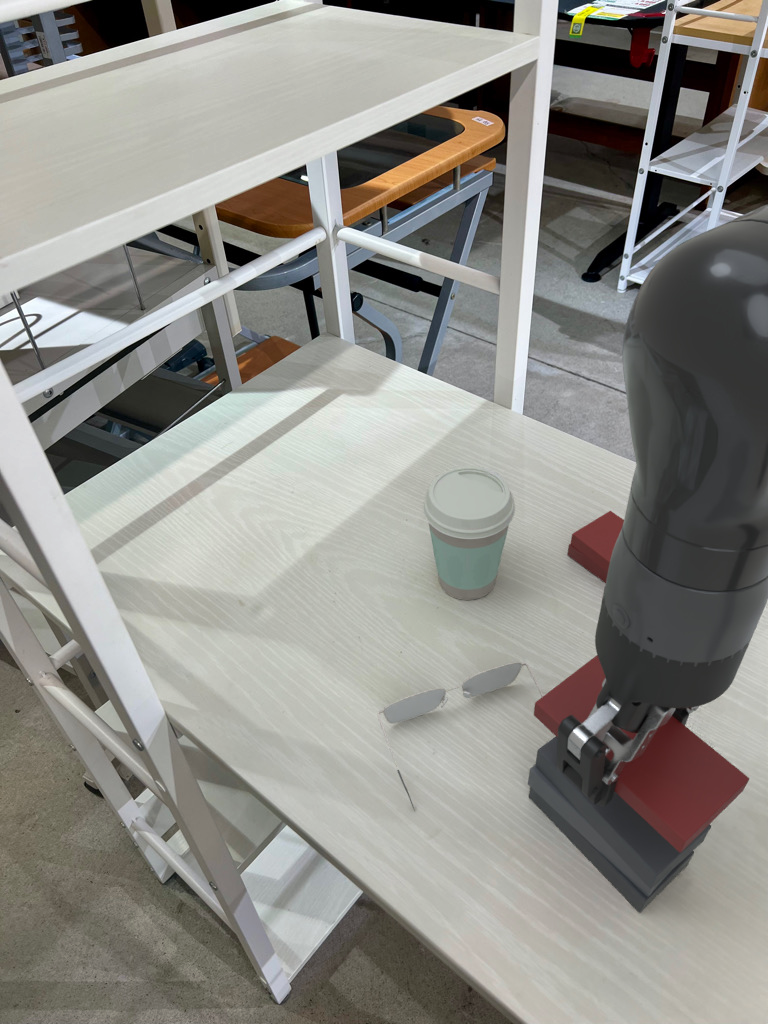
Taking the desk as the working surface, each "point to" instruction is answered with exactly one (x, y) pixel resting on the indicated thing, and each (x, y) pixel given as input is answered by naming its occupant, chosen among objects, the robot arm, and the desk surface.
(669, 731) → the thin oxblood book
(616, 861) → the grey books
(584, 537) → the oxblood books
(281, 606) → the desk surface
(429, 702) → the eyeglasses
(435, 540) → the coffee cup
